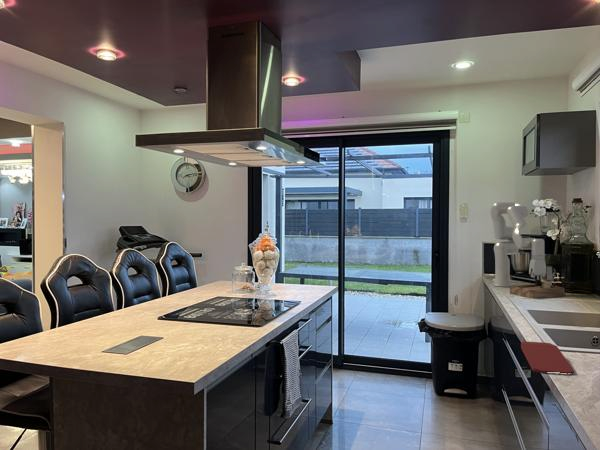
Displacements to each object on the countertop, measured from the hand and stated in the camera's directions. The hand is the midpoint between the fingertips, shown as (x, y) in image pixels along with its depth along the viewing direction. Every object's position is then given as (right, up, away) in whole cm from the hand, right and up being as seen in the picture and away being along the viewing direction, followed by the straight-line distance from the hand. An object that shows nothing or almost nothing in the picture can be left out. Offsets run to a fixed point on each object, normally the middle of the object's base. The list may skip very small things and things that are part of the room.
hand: (538, 286), depth 296 cm
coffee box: (+11, -5, +14) cm, 18 cm away
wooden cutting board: (-3, -5, -5) cm, 8 cm away
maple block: (+5, -1, +1) cm, 5 cm away
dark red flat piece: (-68, -9, -135) cm, 151 cm away
